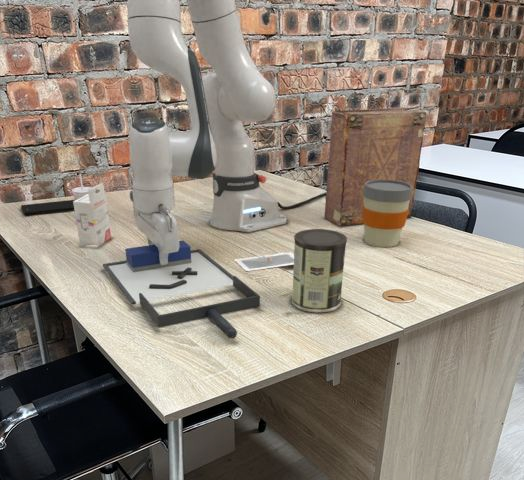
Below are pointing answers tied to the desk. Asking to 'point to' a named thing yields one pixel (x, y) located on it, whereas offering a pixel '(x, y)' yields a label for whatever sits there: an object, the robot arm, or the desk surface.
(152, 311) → the dustpan
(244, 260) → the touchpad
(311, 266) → the coffee can
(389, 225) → the reusable coffee cup
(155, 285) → the black bent rod
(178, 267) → the whiteboard
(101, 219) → the ink cartridge box
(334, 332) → the desk surface
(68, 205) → the cell phone
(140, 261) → the eraser
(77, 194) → the smoothie
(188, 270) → the x mark
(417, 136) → the book
